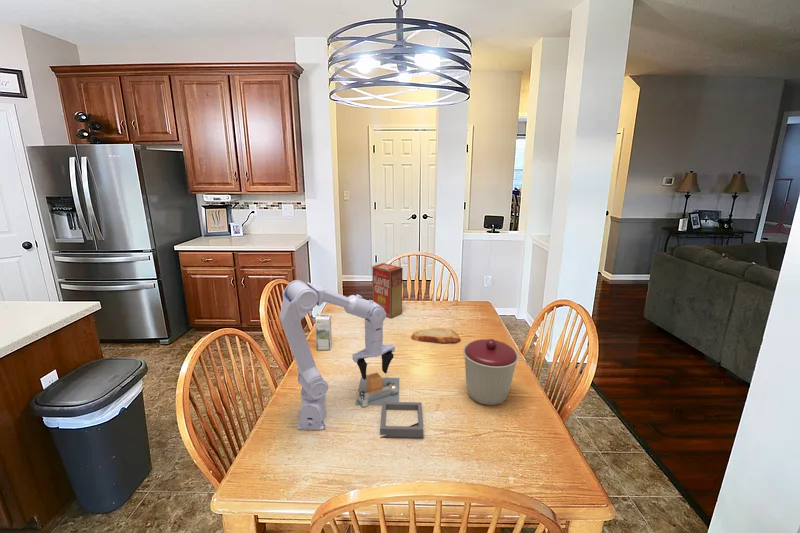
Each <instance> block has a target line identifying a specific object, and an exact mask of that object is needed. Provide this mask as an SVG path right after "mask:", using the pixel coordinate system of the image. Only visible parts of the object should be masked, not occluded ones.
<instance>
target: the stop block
mask: <svg viewBox="0 0 800 533" xmlns="http://www.w3.org/2000/svg"><path fill="white" fill-rule="evenodd" d="M382 378H383V376H381V375H380V373H378V372H374V373H371V374H366V380H367V392H371V391H374V390H377V389H380V388H382Z"/></svg>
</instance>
